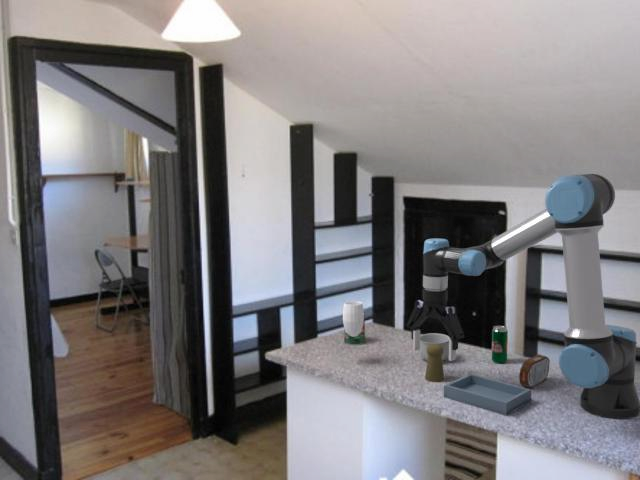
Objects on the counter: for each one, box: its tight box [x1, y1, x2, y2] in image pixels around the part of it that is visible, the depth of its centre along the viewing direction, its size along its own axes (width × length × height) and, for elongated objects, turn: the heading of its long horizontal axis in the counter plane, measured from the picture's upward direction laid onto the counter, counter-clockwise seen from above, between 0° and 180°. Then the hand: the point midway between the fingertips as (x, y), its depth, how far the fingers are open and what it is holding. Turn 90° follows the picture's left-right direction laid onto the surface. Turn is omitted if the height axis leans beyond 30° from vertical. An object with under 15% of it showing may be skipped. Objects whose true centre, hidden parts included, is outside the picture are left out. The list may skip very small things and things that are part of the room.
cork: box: [424, 344, 445, 383], centre depth 203 cm, size 6×6×11 cm
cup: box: [342, 300, 365, 337], centre depth 220 cm, size 7×7×21 cm
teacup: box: [418, 332, 451, 362], centre depth 223 cm, size 14×11×8 cm
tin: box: [518, 353, 551, 389], centre depth 197 cm, size 15×3×8 cm, turn 135°
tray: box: [443, 373, 532, 416], centre depth 186 cm, size 20×14×4 cm
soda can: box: [491, 325, 509, 364], centre depth 219 cm, size 5×5×12 cm
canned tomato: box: [343, 313, 366, 346], centre depth 244 cm, size 8×8×11 cm
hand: (433, 354), depth 203 cm, fingers open, 13 cm apart
